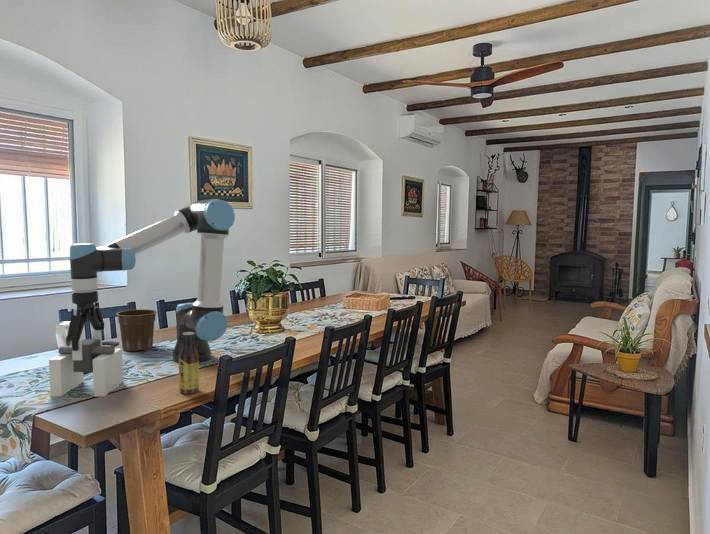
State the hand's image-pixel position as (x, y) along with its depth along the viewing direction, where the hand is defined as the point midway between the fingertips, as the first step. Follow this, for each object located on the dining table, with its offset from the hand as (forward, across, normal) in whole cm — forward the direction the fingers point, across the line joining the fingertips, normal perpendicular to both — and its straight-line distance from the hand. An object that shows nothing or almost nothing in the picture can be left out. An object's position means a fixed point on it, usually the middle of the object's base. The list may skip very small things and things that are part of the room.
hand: (88, 354), depth 164 cm
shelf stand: (+12, 0, 0) cm, 12 cm away
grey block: (+5, 0, 0) cm, 5 cm away
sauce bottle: (+12, +3, +34) cm, 36 cm away
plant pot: (+12, -53, -4) cm, 54 cm away
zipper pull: (+12, -27, -12) cm, 32 cm away
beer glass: (+12, -35, -25) cm, 45 cm away
